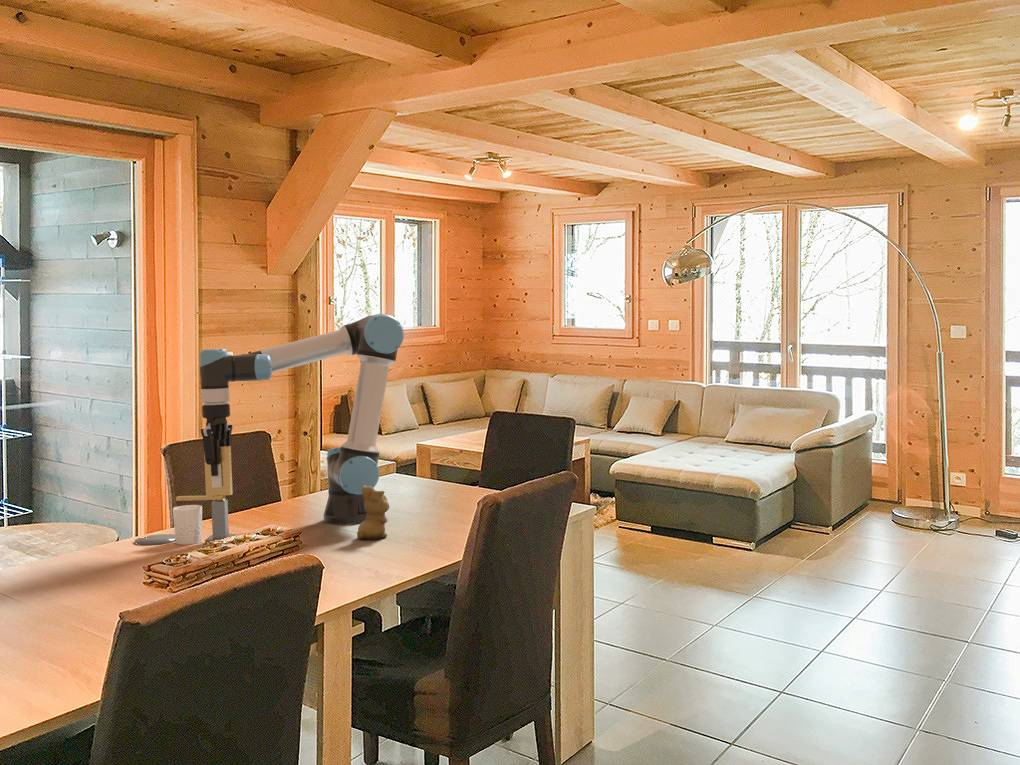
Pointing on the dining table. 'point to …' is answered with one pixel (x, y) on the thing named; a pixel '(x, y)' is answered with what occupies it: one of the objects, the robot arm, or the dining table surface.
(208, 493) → the tan l-shaped bracket
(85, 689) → the dining table surface
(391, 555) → the dining table surface
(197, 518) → the white cup
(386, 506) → the figurine
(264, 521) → the dining table surface
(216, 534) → the post
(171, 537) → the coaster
